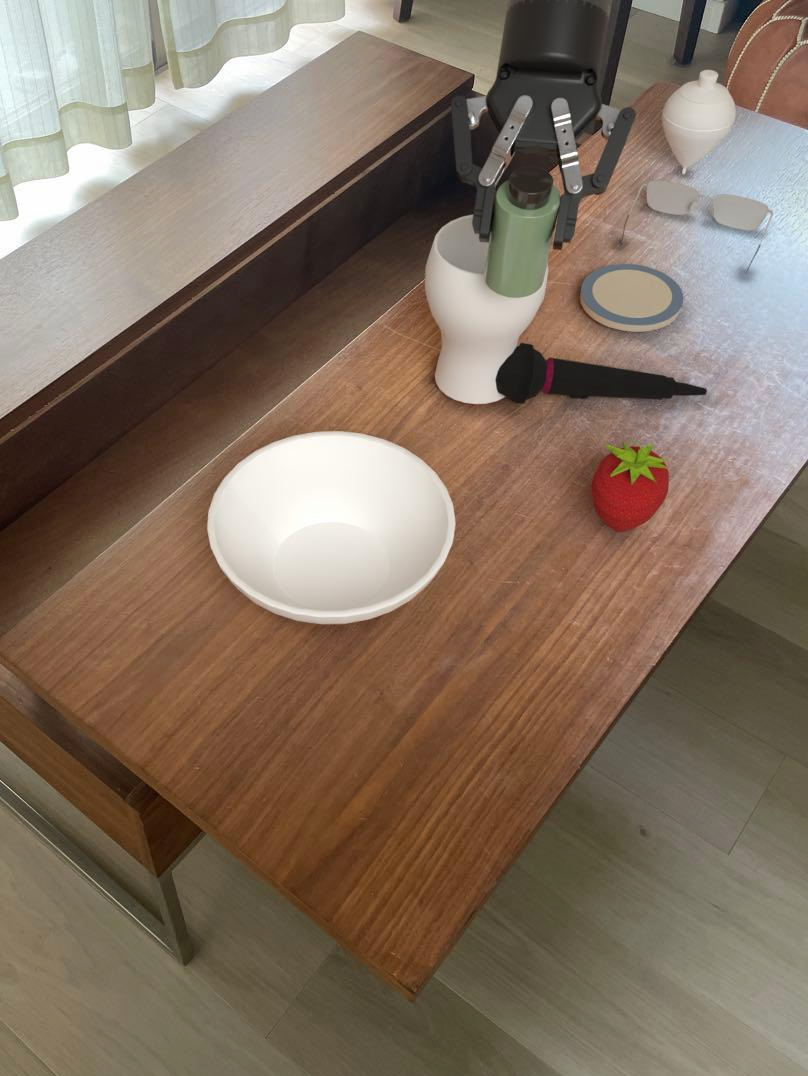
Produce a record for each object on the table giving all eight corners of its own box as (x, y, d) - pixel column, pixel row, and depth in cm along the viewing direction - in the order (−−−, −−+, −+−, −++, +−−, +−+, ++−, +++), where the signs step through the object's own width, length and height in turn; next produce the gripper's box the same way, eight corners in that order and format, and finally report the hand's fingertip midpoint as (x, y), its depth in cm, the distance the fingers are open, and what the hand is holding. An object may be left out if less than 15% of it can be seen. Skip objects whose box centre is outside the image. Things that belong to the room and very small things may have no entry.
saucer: (684, 283, 114) (687, 271, 112) (674, 344, 108) (678, 331, 106) (586, 269, 116) (588, 257, 115) (571, 327, 110) (574, 315, 109)
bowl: (387, 706, 83) (390, 655, 78) (170, 612, 90) (159, 559, 84) (485, 531, 93) (493, 475, 88) (284, 459, 100) (281, 403, 95)
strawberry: (568, 546, 92) (587, 462, 84) (598, 487, 96) (620, 403, 88) (637, 571, 90) (664, 488, 82) (665, 510, 94) (693, 426, 86)
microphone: (688, 408, 106) (482, 387, 106) (706, 351, 103) (493, 330, 103) (704, 432, 101) (488, 410, 101) (723, 374, 98) (501, 351, 98)
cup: (433, 422, 102) (443, 287, 90) (409, 351, 109) (414, 217, 97) (546, 406, 102) (569, 271, 91) (514, 336, 109) (531, 202, 98)
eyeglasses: (766, 234, 118) (776, 203, 115) (747, 280, 114) (758, 250, 111) (637, 206, 123) (644, 175, 120) (615, 249, 119) (621, 219, 116)
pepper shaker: (555, 277, 89) (578, 179, 81) (517, 307, 87) (535, 209, 79) (510, 249, 91) (527, 150, 83) (471, 277, 89) (485, 180, 81)
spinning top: (666, 196, 124) (691, 95, 115) (638, 161, 129) (660, 62, 120) (730, 186, 125) (760, 84, 115) (699, 151, 130) (726, 51, 120)
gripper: (458, -13, 80) (422, 225, 81) (663, -3, 76) (621, 244, 78) (464, 27, 87) (431, 244, 89) (651, 37, 84) (613, 262, 86)
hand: (520, 243), depth 83 cm, fingers closed on pepper shaker, 5 cm apart
